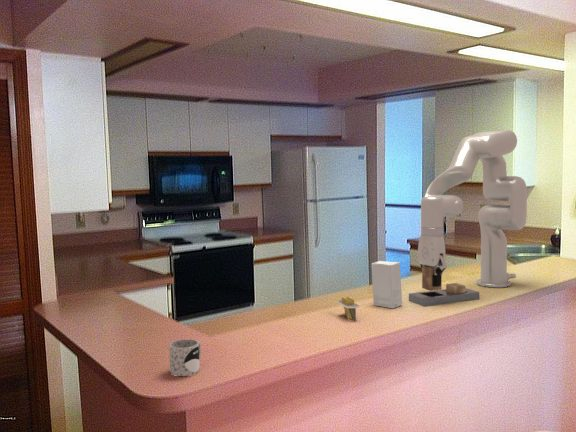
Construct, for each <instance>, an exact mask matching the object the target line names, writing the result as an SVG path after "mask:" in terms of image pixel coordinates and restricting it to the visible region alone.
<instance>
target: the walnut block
mask: <svg viewBox="0 0 576 432" xmlns="http://www.w3.org/2000/svg"><path fill="white" fill-rule="evenodd" d="M436 266H438V265H436ZM437 269H438V268H436V270H437ZM421 273H422V275H421V277H422V282H421V288H422V289H423V290H427V291H435V290H443V288H442V285H443V284H442V282H443V281H442V279H443V277H442V276H443V274H442V275H441V286H438V287H433V286H432V275H434V273H433V267H431V266H427V265H422V268H421Z"/></svg>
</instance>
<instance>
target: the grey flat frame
mask: <svg viewBox="0 0 576 432" xmlns="http://www.w3.org/2000/svg"><path fill="white" fill-rule="evenodd" d="M475 299H477V300H480V291H477V290H476V291H475V290H473V289H469V288H466V287H465V293H459V294H452V293H449V292H446V288H445V289H443V288H442V290H433V291H430V290H427V291H420V292H411V293H408V301H409V302H412V303H414V304H417V305H419V306H422V307H429V306H436V305H437V306H438V305H444V304H452V303H453V304H455V303H460V302H467V301H468V300H469V301H476V300H475ZM469 301H468V302H469Z"/></svg>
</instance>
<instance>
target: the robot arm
mask: <svg viewBox="0 0 576 432" xmlns="http://www.w3.org/2000/svg"><path fill="white" fill-rule="evenodd" d="M517 145H518V137H517V135H516V133H515V132H514V131H512V130H510V129H502V130H490V131H481V132H479V131H478V132H477V133H474V134H472V135H467V136H465V137H463V138H462V139H461V141H460V142H459V144H458V147H457V148H456V150H455V153H454V155H453V158H452V160H451V162H450V165H449V166H448V168H447V169H445V171H443V172H442V173H440V174H439V175H438V176H437V177H436V178H435V179H433V181H431V183H430V184H429V185H428V187H427V189H426V191H425V193H424V196H423V197H422V198H421V200H420V235H419V238H418V246H417V262H418V264H419V265H420V268H421V269H422V265H427V266H431V267H433V273H434V275H432V286H433V287H438V286H441V275H442V276H443V273H444V271H445V270H446V269H447V264H446V243H445V237H444V232H445V231H444V229H445V227H444V223H445V222H444V219H445V217H446V218H449V217H450V218H452V217H453V218H455V217H457V216H459V215H461V214H462V212H463V209H464V201H463V200H462V199H461V197H459V196H457V195H452V194H444V193H445V192H447V191H448V190H449V189H451V188H453V187H456V186H458V185H460V184H463V183H464V182H468V180H470V179H471V178H472V177H473V174H474V171H475V169H476V167H477V164H478V163H479V160H480V161H481V164H482V194H483V197H484V199H486V200H487V201H494V202H495V201H496V202H509V204H496V203H495V204H494V203H492V204H490V203H489V204H486V205H483V206H481V207H480V209H479V211H478V223H479V229H480V278H479V279H477V280H476V284H477V285H478V286H481V287H485V286H486V287H485V288H508V287H511V285H512V284H511V283H512V282H511V281H510V279H516V278H517V275H516V273H509V272H508V269H507V267H508V263H507V262H508V239H507V236H506V235H505V233H504V231H503V230H506V231H507V230H508V231H519V230H522V229H523V228H524V227H525V226H526V223H527V217H528V215H527V213H528V210H527V209H528V203H527V201H528V187H527V183H526V181H525V179H523V178H522V177H521V176H517V175H516V176H514V175H512V176H511V175H509V176H508V174H507V163H506V159H505V158H504V156H505V155H507V154H510V153H512V152H513V151H514V150H515V149H516V148H517ZM436 265H438V266H436ZM436 268H438V269H437V270H436ZM507 286H508V287H507Z"/></svg>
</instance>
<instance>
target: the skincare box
mask: <svg viewBox="0 0 576 432" xmlns="http://www.w3.org/2000/svg"><path fill="white" fill-rule="evenodd" d="M401 277H402V275H401V262H399V261H386V260H385V261H384V260H378V261H374V262H372V263H371V281H372V283H371V284H372V286H371V287H372V302H373V306H378V307H383V308H388V309H395V308H398V307H402V305H403V299H402V296H403V295H402V281H401V280H402V278H401Z"/></svg>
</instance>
